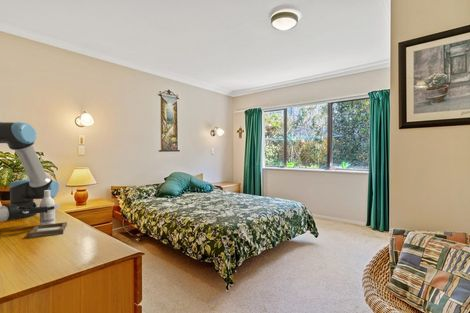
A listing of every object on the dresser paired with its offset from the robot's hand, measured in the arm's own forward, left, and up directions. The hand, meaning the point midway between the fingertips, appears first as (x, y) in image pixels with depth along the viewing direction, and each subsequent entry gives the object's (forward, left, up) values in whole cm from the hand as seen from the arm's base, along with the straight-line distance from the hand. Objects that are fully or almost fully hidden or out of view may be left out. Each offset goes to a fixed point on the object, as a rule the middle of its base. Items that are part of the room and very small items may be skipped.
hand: (54, 204), depth 144 cm
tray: (+16, 0, -11) cm, 19 cm away
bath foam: (+2, -3, -11) cm, 12 cm away
